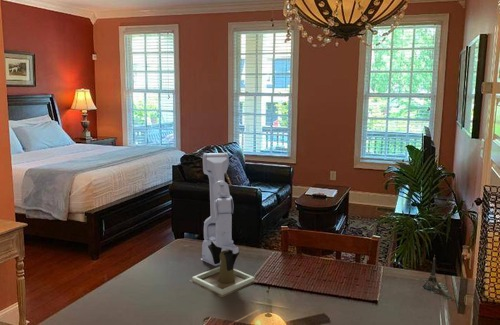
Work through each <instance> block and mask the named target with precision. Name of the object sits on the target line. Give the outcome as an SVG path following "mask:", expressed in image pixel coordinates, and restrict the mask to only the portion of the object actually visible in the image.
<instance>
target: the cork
mask: <svg viewBox="0 0 500 325" xmlns="http://www.w3.org/2000/svg"><path fill="white" fill-rule="evenodd" d="M225 252H228V250H227V249H225V251H222V252H221V253H220V260H221V264H220V265H219V267H220V272H219V279H218V281H219V282H220V283H223V284H230V283H233V282H234V281H235V277H234V270H230V271H228V270H227V264H226V258H225V255H224V253H225Z"/></svg>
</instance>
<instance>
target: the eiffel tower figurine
mask: <svg viewBox="0 0 500 325" xmlns="http://www.w3.org/2000/svg"><path fill="white" fill-rule="evenodd" d="M435 256H436V255H434V256H433V258H432V259H433V260H432V266H431V272H430V274H429V277H428V279H422V278H421V279H420V278H416V281H421V282H425V283H424V284H423V285H422V286H420V288H421V289H422V290H425V291H427V292H430V293H432V294H436V293H439V292H443V293H445V294H446V295H444V296H442V299H444V300H449V301H451V300H453V299H452V296H451V294H450V292H449V290H448V287H447V285H446V284H444V283H442V282H440V281H438V280H437V276H436V257H435Z"/></svg>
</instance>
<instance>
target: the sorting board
mask: <svg viewBox="0 0 500 325" xmlns="http://www.w3.org/2000/svg"><path fill="white" fill-rule="evenodd" d="M234 277H235V281H234V282H233V283H230V284H223V283H220V282H219V281H218V279H219V272H217V273H215V274H212V275H210V276H207V277H205V278H202V280H204V281H206V282H208V283H210V284H212V285H214V286H216V287H218V288H221V289H224V288H227V287H229V286H231V285H234V284H236V283H238V282H241V281H243V280H245V278H242V277H240V276H238V275H235V274H234ZM188 282H189V283H192V284H194V285H196V286H198V287H199V288H202V289H204V290H205V291H208V292H210V293H213V294H214V295H216V296H218V297H221V298H223V297H226V296H228V295H230V294H232V293H235V292H237V291H240V290H242V289H244V288H246V287H249V286H251V285H253V284H255V283H258V282H259V280H257V279H255V281H253V282H251V283H249V284H247V285H244V286H242V287H240V288H238V289H235V290H233V291H231V292H228V293H226V294H224V295H220V294H218V293H216V292H214V291H212V290H210V289H208V288H206V287H204V286H202V285H200V284H198V283H196V282H194V281H192V279H189V280H188Z"/></svg>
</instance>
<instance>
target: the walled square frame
mask: <svg viewBox="0 0 500 325" xmlns="http://www.w3.org/2000/svg"><path fill="white" fill-rule="evenodd" d="M233 270H234V274H235V275H238V276H240V277H242V278H245V280H243V281H241V282H238V283H236V284H234V285H231V286H229V287H227V288H224V289H221V288H218V287H216V286H214V285H212V284H210V283H208V282H206V281H204V280H202V278H205V277H207V276H210V275H212V274H215V273H217V272H220V266H216V267H215V268H212V269H210V270H207V271H204V272H201V273H198V274H196V275H194V276H191V278H192V279H191V280H192V281H194V282H196V283H198V284H200V285H202V286H204V287H206V288H208V289H210V290H212V291H214V292H216V293H218V294H220V295H224V294H226V293H228V292H231V291H233V290H235V289H238V288H240V287H242V286H244V285H247V284H249V283H251V282H253V281H255V280H256V279H255V276H253V275H251V274H248V273H245V272H243V271H241V270H238V269H237V268H234V267H233Z"/></svg>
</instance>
